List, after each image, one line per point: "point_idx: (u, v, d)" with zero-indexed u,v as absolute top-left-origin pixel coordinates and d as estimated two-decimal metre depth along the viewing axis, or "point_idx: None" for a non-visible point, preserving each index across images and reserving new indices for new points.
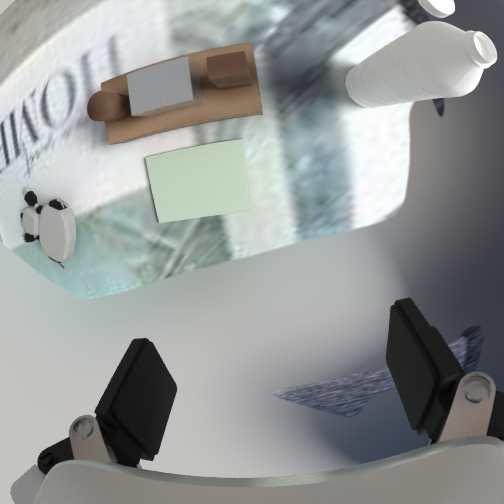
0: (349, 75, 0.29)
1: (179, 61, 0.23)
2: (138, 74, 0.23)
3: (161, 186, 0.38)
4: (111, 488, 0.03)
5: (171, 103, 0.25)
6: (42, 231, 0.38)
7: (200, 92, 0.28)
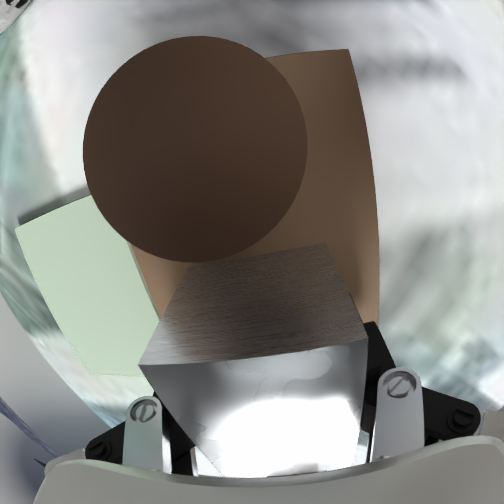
0: None
1: (343, 459, 0.07)
2: (345, 384, 0.06)
3: (63, 233, 0.15)
4: (111, 488, 0.03)
5: (206, 454, 0.07)
6: None
7: None
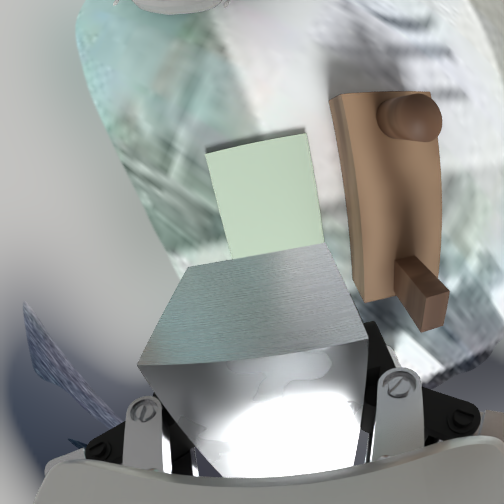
0: None
1: (343, 459, 0.07)
2: (345, 385, 0.06)
3: (262, 157, 0.26)
4: (111, 488, 0.03)
5: (206, 454, 0.07)
6: None
7: None
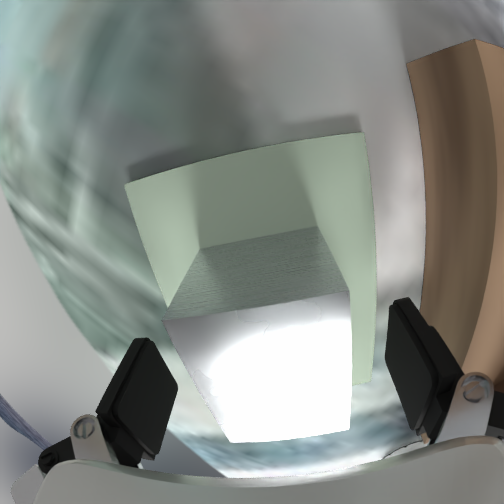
0: None
1: (339, 420, 0.09)
2: (334, 335, 0.07)
3: (255, 191, 0.11)
4: (111, 488, 0.03)
5: (215, 415, 0.09)
6: None
7: None
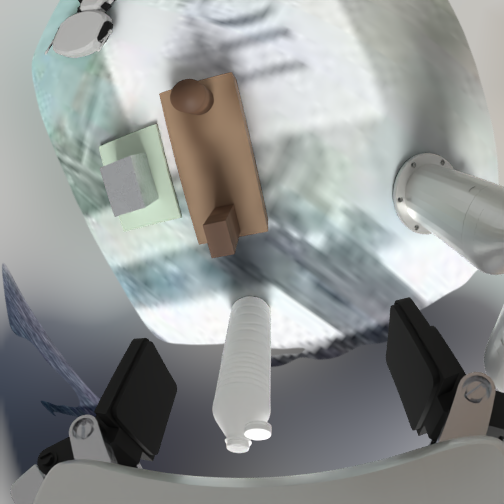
0: (253, 303, 0.43)
1: (140, 201, 0.33)
2: (129, 167, 0.32)
3: (129, 145, 0.35)
4: (111, 488, 0.03)
5: (110, 200, 0.34)
6: (81, 17, 0.24)
7: None
